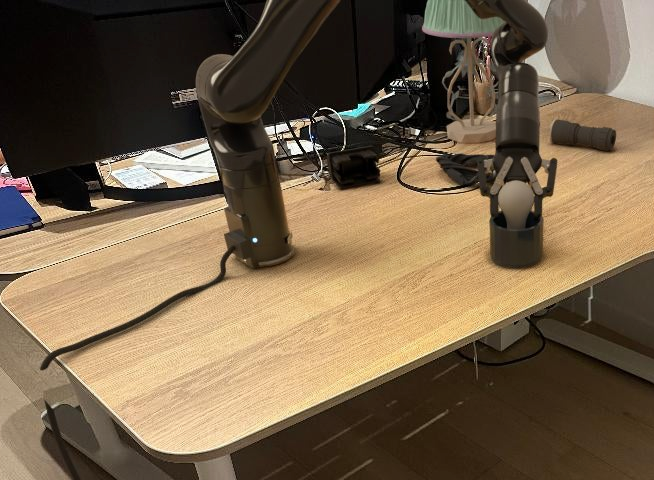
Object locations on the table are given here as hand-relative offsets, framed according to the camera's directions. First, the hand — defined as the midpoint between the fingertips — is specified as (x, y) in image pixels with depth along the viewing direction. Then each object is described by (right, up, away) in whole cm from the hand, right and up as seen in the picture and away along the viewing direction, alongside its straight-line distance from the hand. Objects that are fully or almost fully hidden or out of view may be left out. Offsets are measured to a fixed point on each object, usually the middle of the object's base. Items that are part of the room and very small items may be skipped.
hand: (516, 218), depth 126 cm
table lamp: (-9, +34, +62) cm, 71 cm away
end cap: (-34, +16, +37) cm, 53 cm away
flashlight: (+17, +29, +53) cm, 63 cm away
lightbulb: (0, -3, +5) cm, 6 cm away
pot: (0, -5, +6) cm, 8 cm away
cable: (-8, +18, +39) cm, 44 cm away
